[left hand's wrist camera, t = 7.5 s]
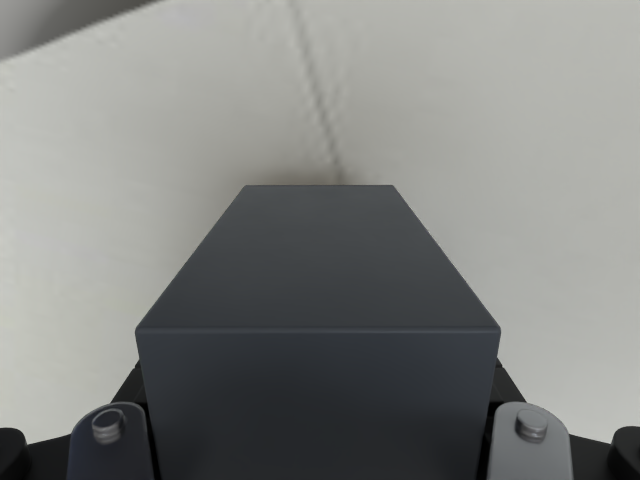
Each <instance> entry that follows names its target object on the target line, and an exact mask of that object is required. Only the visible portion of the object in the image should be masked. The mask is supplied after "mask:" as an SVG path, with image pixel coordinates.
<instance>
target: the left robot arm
mask: <svg viewBox="0 0 640 480" xmlns="http://www.w3.org/2000/svg"><path fill="white" fill-rule="evenodd" d="M0 480H161V476H160V471H159V465H158V459H157V454H156V448H155V443H154V437H153V431H152V426H151V420H150V415H149V409H148V403H147V398H146V392H145V387H144V381H143V375H142V370H141V364H140V359H139V361H138V362H137V364H136V365H135V369H133V370H132V371H131V373H130V374H129V376H128V377H127V379H126V380H125V382H124V383H123V385H122V386H121V388H120V389H119V391H118V392H117V394H116V395H115V397H114V398H113V400H112V401H111V403H110V404H107V405H104V406H101V407H99V408H97V409H95V410H93V411H91V412H90V413H88V414H87V415H85V416H84V417H83V418H82V419H81V420H80V421H79V422H78V423H77V424H76V426H75V427H74V429H73V431H72V433H71V434H69V435H66V436H62V437H58V438H54V439H50V440H46V441H41V442H37V443H33V444H29V445H27V443H26V439H25V436H24V434H23V433H22V432H21V431H20V430H18V429H14V428H0ZM476 480H640V427H636V426H627V427H622V428H620V429H618V430H617V431H616V432H615V434H614V436H613V439H612V443H611V444H608V443H604V442H600V441H595V440H591V439H587V438H583V437H578V436H575V435H571V434H569V433H568V431H567V429H566V427H565V426H564V424H563V423H562V422H561V421H560V420H559V419H558V418H557V417H556V416H555V415H553V414H552V413H550V412H549V411H547V410H545V409H543V408H541V407H539V406H536V405H533V404H529V403H527V402H526V401H525V399H524V398H523V396H522V394H521V393H520V391H519V390H518V388H517V387H516V385H515V384H514V382H513V381H512V379H511V378H510V376H509V375H508V373H507V372H506V370H505V369H504V368H502V364H501V363H500V361H499V359H498V358H497V359H496V365H495V371H494V377H493V383H492V389H491V394H490V400H489V406H488V412H487V418H486V424H485V430H484V435H483V441H482V447H481V453H480V459H479V465H478V470H477V476H476Z"/></svg>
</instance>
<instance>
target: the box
mask: <svg viewBox="0 0 640 480" xmlns="http://www.w3.org/2000/svg"><path fill="white" fill-rule="evenodd" d="M135 336H136V342H137V347H138V353H139V359H140V364H141V370H142V375H143V381H144V387H145V392H146V398H147V403H148V409H149V415H150V420H151V426H152V431H153V437H154V443H155V448H156V454H157V459H158V465H159V471H160V476H161V480H476V476H477V470H478V465H479V459H480V453H481V447H482V441H483V435H484V430H485V424H486V418H487V412H488V406H489V400H490V394H491V389H492V383H493V377H494V371H495V365H496V359H497V354H498V348H499V342H500V336H501V329H500V326H499V325H498V324H497V322H496V321H495V320H494V318H493V317H492V316H491V314H490V313H489V312H488V311H487V309H486V308H485V307H484V305H483V304H482V303H481V301H480V300H479V299H478V297H477V296H476V295H475V293H474V292H473V291H472V289H471V288H470V287H469V285H468V284H467V283H466V281H465V280H464V279H463V277H462V276H461V275H460V273H459V272H458V271H457V269H456V268H455V267H454V265H453V264H452V263H451V261H450V260H449V259H448V257H447V256H446V255H445V254H444V252H443V251H442V250H441V248H440V247H439V246H438V244H437V243H436V242H435V240H434V239H433V238H432V236H431V235H430V234H429V232H428V231H427V230H426V228H425V227H424V226H423V224H422V223H421V222H420V220H419V219H418V218H417V216H416V215H415V214H414V212H413V211H412V210H411V208H410V207H409V206H408V204H407V203H406V202H405V200H404V199H403V198H402V196H401V195H400V194H399V193H398V191H397V190H396V189H395V187H394V186H393V185H246V186H244V188H243V189H242V190H241V192H240V193H239V194H238V195H237V197H236V198H235V199H234V201H233V202H232V203H231V205H230V206H229V207H228V208H227V210H226V211H225V212H224V214H223V215H222V216H221V218H220V219H219V220H218V222H217V223H216V224H215V225H214V227H213V228H212V229H211V231H210V232H209V233H208V235H207V236H206V237H205V238H204V240H203V241H202V242H201V244H200V245H199V246H198V248H197V249H196V250H195V251H194V253H193V254H192V255H191V257H190V258H189V259H188V261H187V262H186V263H185V265H184V266H183V267H182V268H181V270H180V271H179V272H178V274H177V275H176V276H175V278H174V279H173V280H172V281H171V283H170V284H169V285H168V287H167V288H166V289H165V291H164V292H163V293H162V295H161V296H160V297H159V298H158V300H157V301H156V302H155V304H154V305H153V306H152V308H151V309H150V310H149V311H148V313H147V314H146V315H145V317H144V318H143V319H142V321H141V322H140V323H139V324H138V326H137V327H136V329H135Z"/></svg>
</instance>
